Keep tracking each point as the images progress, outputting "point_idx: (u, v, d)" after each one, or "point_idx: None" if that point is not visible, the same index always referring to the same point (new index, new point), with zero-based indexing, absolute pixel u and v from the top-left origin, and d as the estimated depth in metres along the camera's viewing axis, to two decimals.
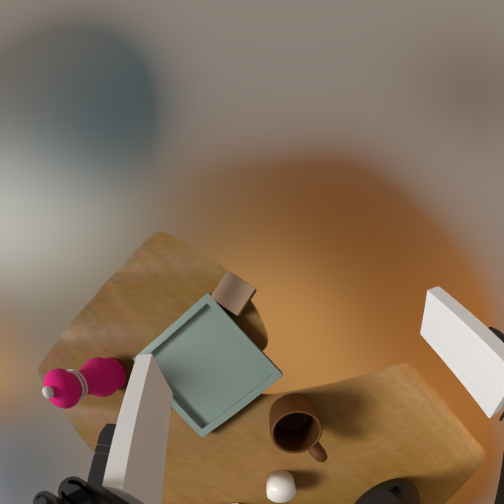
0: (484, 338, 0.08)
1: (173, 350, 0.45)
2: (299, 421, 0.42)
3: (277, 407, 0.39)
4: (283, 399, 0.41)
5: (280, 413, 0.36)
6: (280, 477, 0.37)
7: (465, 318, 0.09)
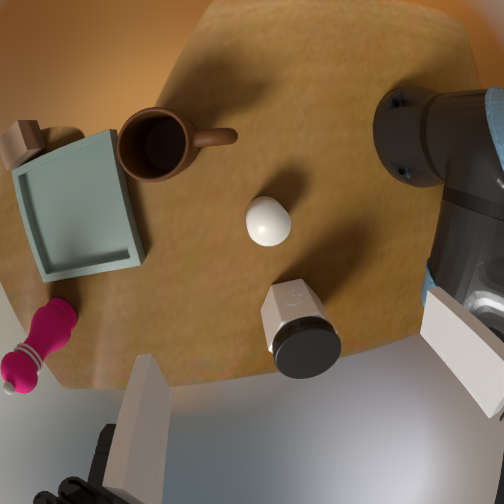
0: (484, 338, 0.08)
1: (48, 235, 0.34)
2: None
3: None
4: None
5: None
6: (249, 211, 0.34)
7: (465, 318, 0.09)
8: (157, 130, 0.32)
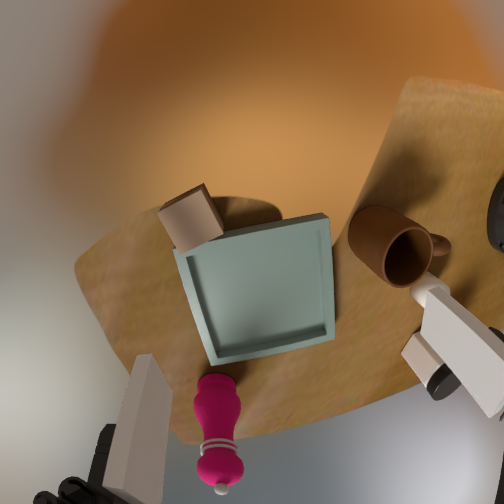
0: (484, 338, 0.08)
1: (222, 319, 0.37)
2: None
3: (362, 251, 0.31)
4: (355, 235, 0.33)
5: (376, 259, 0.28)
6: (423, 288, 0.37)
7: (465, 318, 0.09)
8: None
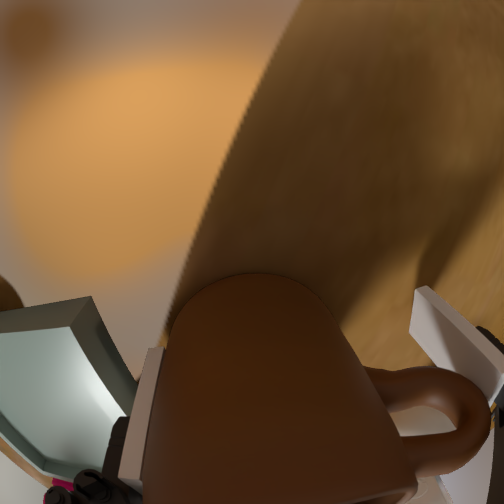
0: (470, 337, 0.08)
1: (25, 432, 0.14)
2: None
3: None
4: None
5: None
6: (400, 434, 0.14)
7: (452, 317, 0.09)
8: None
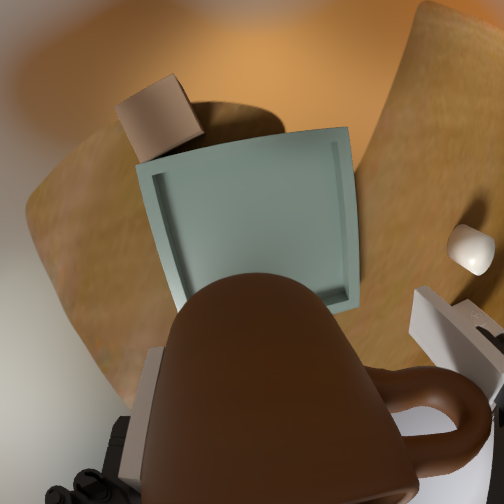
0: (470, 337, 0.08)
1: (204, 274, 0.27)
2: None
3: None
4: None
5: None
6: (464, 241, 0.27)
7: (451, 317, 0.09)
8: None
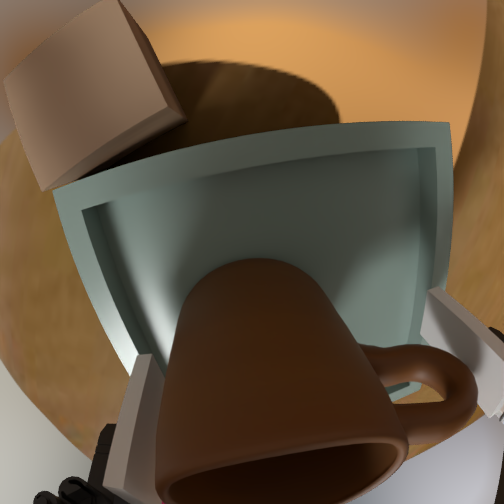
0: (484, 338, 0.08)
1: None
2: None
3: None
4: None
5: None
6: None
7: (465, 318, 0.09)
8: None
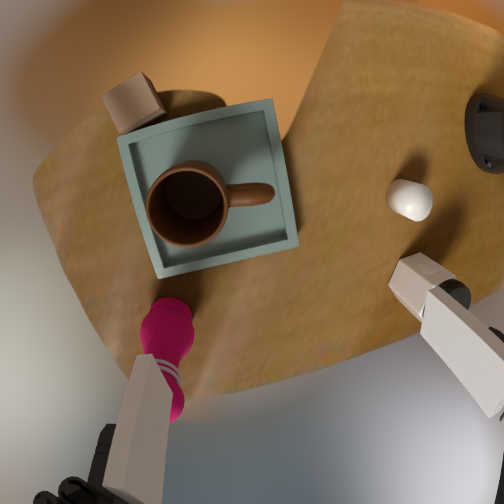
0: (484, 338, 0.08)
1: None
2: (212, 188, 0.33)
3: None
4: None
5: None
6: (399, 190, 0.34)
7: (465, 318, 0.09)
8: (178, 176, 0.32)
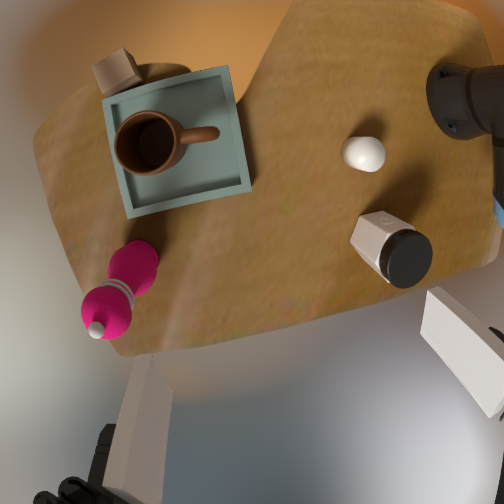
0: (484, 338, 0.08)
1: None
2: None
3: None
4: None
5: None
6: (350, 144, 0.37)
7: (465, 318, 0.09)
8: (149, 130, 0.35)
